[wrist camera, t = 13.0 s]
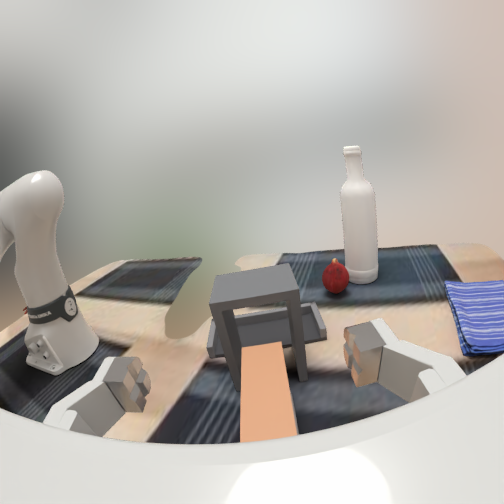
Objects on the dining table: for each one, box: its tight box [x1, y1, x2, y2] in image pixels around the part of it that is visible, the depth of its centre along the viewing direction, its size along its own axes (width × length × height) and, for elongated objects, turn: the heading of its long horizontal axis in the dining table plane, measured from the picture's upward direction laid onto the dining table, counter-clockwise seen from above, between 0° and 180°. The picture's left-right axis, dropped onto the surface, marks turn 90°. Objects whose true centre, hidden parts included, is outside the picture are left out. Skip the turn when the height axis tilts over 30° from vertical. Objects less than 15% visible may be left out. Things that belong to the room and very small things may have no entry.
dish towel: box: [444, 280, 504, 356], centre depth 35 cm, size 17×24×3 cm
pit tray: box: [207, 302, 327, 358], centre depth 48 cm, size 20×9×2 cm, turn 91°
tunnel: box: [209, 263, 308, 391], centre depth 37 cm, size 10×8×15 cm
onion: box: [322, 258, 349, 294], centre depth 56 cm, size 6×6×8 cm
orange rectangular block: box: [240, 342, 299, 443], centre depth 25 cm, size 5×14×10 cm, turn 1°
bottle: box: [340, 146, 378, 284], centre depth 57 cm, size 8×8×30 cm
